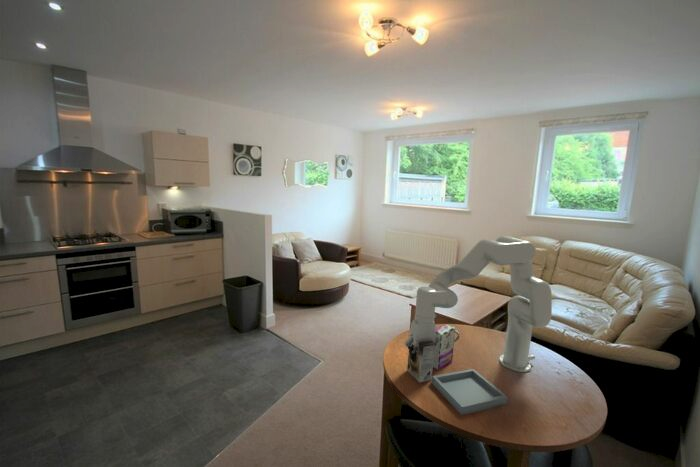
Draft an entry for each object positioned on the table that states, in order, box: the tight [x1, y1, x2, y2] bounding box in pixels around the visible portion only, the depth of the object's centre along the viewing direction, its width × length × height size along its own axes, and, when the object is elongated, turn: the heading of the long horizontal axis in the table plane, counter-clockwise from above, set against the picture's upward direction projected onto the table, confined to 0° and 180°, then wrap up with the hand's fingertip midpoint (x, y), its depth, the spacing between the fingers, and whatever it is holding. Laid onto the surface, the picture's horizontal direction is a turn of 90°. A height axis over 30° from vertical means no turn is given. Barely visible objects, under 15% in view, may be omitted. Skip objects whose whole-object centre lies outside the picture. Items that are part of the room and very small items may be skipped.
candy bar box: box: [433, 323, 456, 371], centre depth 136 cm, size 11×5×16 cm, turn 131°
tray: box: [431, 368, 509, 416], centre depth 118 cm, size 20×18×3 cm
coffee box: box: [406, 341, 436, 383], centre depth 127 cm, size 9×6×16 cm
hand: (420, 358), depth 127 cm, fingers closed on coffee box, 6 cm apart
